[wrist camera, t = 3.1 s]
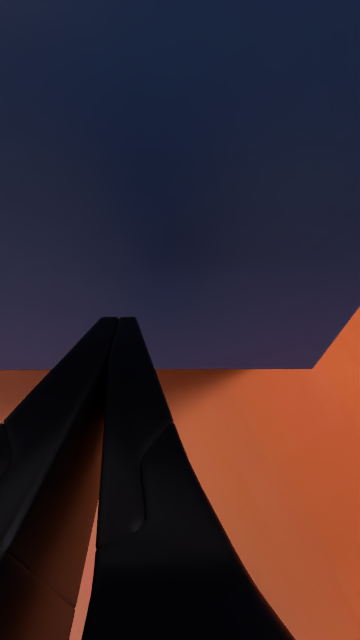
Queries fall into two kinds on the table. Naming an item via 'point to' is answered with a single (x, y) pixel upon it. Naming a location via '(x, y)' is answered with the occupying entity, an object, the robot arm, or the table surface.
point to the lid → (179, 178)
